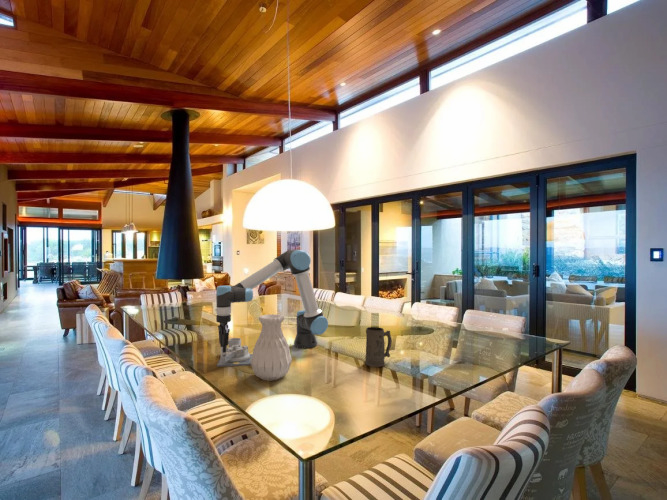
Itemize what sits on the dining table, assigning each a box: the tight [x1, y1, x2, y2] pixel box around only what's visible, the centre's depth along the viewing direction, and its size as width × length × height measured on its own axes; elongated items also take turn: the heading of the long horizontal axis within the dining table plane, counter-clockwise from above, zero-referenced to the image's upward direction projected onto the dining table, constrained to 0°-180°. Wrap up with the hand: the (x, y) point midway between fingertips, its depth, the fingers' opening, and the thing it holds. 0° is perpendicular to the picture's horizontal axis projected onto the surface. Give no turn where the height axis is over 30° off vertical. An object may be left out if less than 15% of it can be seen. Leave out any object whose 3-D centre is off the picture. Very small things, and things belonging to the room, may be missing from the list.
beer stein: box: [364, 326, 393, 368], centre depth 199 cm, size 15×11×20 cm
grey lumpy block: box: [220, 344, 249, 362], centre depth 198 cm, size 20×11×4 cm, turn 164°
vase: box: [250, 314, 293, 382], centre depth 178 cm, size 20×20×30 cm
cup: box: [227, 337, 242, 353], centre depth 216 cm, size 7×10×9 cm
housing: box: [216, 347, 253, 368], centre depth 203 cm, size 20×18×8 cm
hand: (223, 357), depth 194 cm, fingers closed
